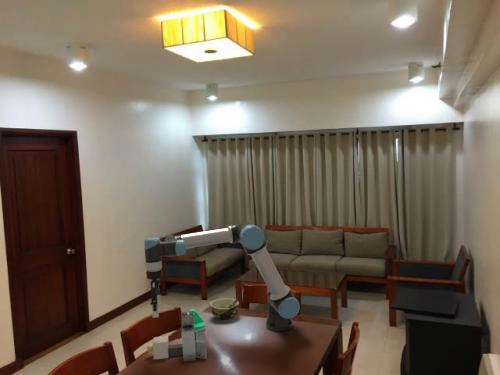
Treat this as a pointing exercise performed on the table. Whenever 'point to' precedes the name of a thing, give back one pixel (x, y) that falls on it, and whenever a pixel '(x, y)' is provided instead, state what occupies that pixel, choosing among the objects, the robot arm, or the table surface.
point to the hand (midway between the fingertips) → (156, 312)
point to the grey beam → (164, 348)
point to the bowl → (224, 307)
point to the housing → (192, 338)
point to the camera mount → (197, 320)
